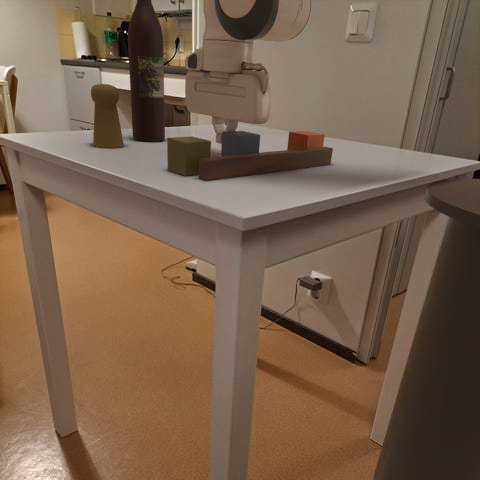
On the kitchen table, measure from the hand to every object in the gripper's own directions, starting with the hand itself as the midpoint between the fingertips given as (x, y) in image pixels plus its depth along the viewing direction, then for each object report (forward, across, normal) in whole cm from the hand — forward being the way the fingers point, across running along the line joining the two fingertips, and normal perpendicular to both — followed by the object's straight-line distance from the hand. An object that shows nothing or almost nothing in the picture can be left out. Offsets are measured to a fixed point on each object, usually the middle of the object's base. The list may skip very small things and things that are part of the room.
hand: (223, 144), depth 87 cm
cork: (+3, +19, +14) cm, 24 cm away
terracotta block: (+2, -8, -14) cm, 17 cm away
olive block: (+2, -8, +14) cm, 16 cm away
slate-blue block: (+2, -5, 0) cm, 5 cm away
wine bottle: (+3, +23, +2) cm, 23 cm away
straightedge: (+2, -13, 0) cm, 14 cm away
